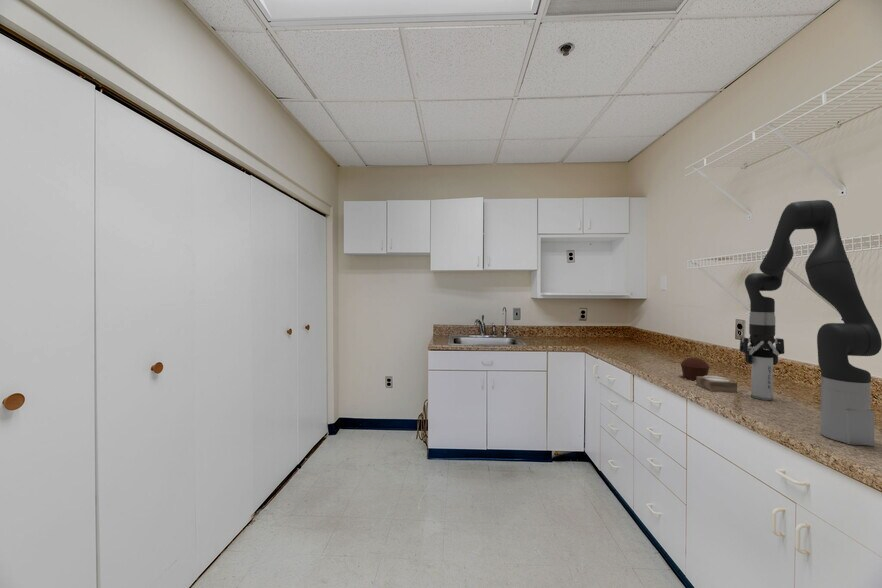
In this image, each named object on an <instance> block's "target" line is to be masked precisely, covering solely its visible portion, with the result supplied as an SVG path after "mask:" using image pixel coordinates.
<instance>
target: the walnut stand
mask: <svg viewBox="0 0 882 588" xmlns="http://www.w3.org/2000/svg"><path fill="white" fill-rule="evenodd" d="M695 385H696V386H698V387H699V388H702V389H705V390H706V391H709V392H715V393H718V392H719V393H738V382H735V381H732V380H730V378H726V377H723V376H717V375H707V376H696V384H695Z"/></svg>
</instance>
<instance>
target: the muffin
mask: <svg viewBox="0 0 882 588" xmlns="http://www.w3.org/2000/svg"><path fill="white" fill-rule="evenodd" d="M680 367H681V372H682V377H683V378H684V379H685V378H686V379H685V380H688V379H690V380H689V381H694V380H696V376H709V375H708V374H709V370H710V366H709V364H708V363H707V361H705V360H703V359H701V358H698V357H688V358H686V359H684V360H682V362H681V363H680Z"/></svg>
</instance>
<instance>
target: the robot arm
mask: <svg viewBox="0 0 882 588" xmlns="http://www.w3.org/2000/svg"><path fill="white" fill-rule="evenodd" d="M776 226H777V227H776V229H775V232H774V235H773V238H772V242H771V244H770V247H769V249H768V250H767V252H766V254H765V256H764V258H763V259H762V261H761V262H760V265H759V270H760V272H761V273H760V272H758V273H757V272H756V273H755V272H754V273H749V274H748V275H747V276H746V277H745V279H744V286H745V289H746V291H747V294H748V297H749V303H750V304H749V305H750V307H749V309H750V312H749V316H748V317H749V320H748V322H749V323H748V333H749V338H748V337H744V336H742V337H740V341H739V352H740V353H743V354H745V356H744V357H745V359H744V360H745V363H746V364H748V365H751V364H753V355H752V354H753V353H754V351H756V350H757V349H766V350H770V351H772V352H773V366H777V364H778V363H779V356H780V355H784V354H785V341H784V340H785V339H784V338H781V337H780V338H779V337H775V336H776V315H775V314H776V313H775V312H776V310H775V309H776V308H775V307H776V306H775V305H776V304H775V303H776V302H775V298H773V297H770V296H764V295H763V294H762V293H761V292H773V291H777V290H779V289H780V288H781V287H782V284H783V277H784V273H785V270H786V268H787V267H788V266H789V264H790V263H791V261H792V259H793V257H794V249H793V245H792V244H791V235H792V234H793V233H794V232H795V230H812V229H813V230H814V233H815V236H816V237H815V238H816V243H815V246H814V248H813V249H812V251H811V253H810V254H809V256H808V258H807V260H806V261H805V265H804V268H805V272H806V276H807V279H808V283H809V285H810V287H811V288H812V290H814V291H815V292H816V293H817V294H818V295H819V296H820V297H821V298H822V299H824V300H825V301H826V302H828V304H830V305H831V306H832V307H833V308H835V309H836V311H837V312H838V313H839V316H840V317H841V319H842V321H843V322H842V323H841V322H840V323H837V322H832V323H831V322H829V323H825V324H822V325H821V326H820V328H819V329H818V331H817V335H816V343H817V344H816V345H817V359H818V360H817V361H818V363H817V364H818V367H819V369H820V412H819V413H820V424H819V425H820V426H819V428H820V429H819V433H820V435H822V436H824V437H825V438H828V439H831V440H834V441H837V442H842V443H844V444H848V445H854V446H870V447H873V446H875V411H874V410H871V393H872V392H871V391H872V390H871V389H872V386H871V384H872V375H871V373H870V371H868V370H866V369H863V368H860V367H856V366H854V365H853V364H851V363H850V362H849V356H852V357H872V356H876V355H878V354H879V353H880V352H881V350H882V336H881V334H880V331H879V329H878V327H877V325H876V323H875V321H874V319H873V317H872V316H871V314H870V312H869V310H868V307H867V306H866V304H865V301H864V300H863V299H864V298H863V297H862V293H861V292H860V289H859V286H858V284H857V281H856V278H855V274H854V271H853V267H852V265H851V262H850V260H849V257H848V255H847V253H846V250H845V246H844V244H843V240H842V236H841V233H840V232H841V231H840V227H839V221H838V215H837V212H836V208H835V207H834V205H833V203H832V202H830V201H829V200H827V199H816V200H814V199H813V200H801V201H794V202H790V203H789V204H788V205H786V207H785V208H784V209H783V211H782V212H781V215H780V217H779V220H778V223H777V225H776Z"/></svg>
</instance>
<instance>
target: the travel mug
mask: <svg viewBox="0 0 882 588" xmlns="http://www.w3.org/2000/svg"><path fill="white" fill-rule="evenodd" d="M752 355H753V364H750V366H751V369H750V370H751V371H750V372H751V375H750V376H751V378H750V379H751V380H750V381H751V384H750V388H751V389H750V392H751V394H750V396H751V398H753V399H755V398H756V399H755V400H759V399H761V400H760V401H766V400H771V401H773V400H774V396H773V394H774V365H773V352H772V351H770V350H767V349H757V350H756V351H754V353H753V354H752Z"/></svg>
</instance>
